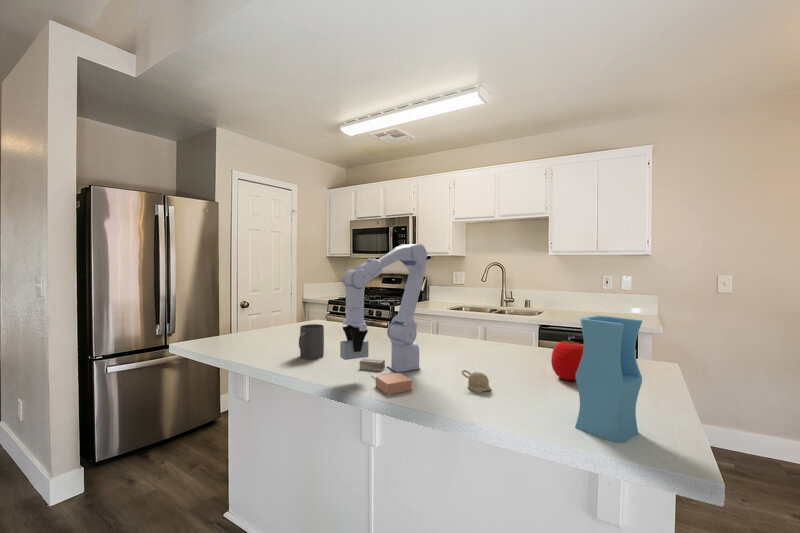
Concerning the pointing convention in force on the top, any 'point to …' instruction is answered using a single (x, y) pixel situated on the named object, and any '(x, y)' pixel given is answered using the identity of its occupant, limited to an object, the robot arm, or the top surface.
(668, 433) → the top surface
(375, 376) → the page
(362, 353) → the top brick
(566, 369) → the tomato
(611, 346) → the vase
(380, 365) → the brick
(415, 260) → the robot arm
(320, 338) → the mug
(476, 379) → the decorative ornament
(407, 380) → the base brick
